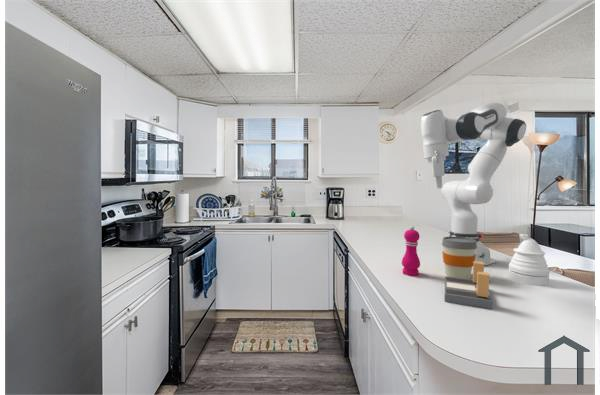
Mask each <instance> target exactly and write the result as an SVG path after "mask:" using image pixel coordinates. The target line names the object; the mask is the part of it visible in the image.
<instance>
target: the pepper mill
mask: <svg viewBox="0 0 600 395" xmlns="http://www.w3.org/2000/svg"><path fill="white" fill-rule="evenodd" d="M403 234H404V235H403V237H404V238H403V239H405V243H404V245H405V246H406V247H405V253H404V255H403V257H402V259H401V265H402V267H403V268H402V274H403V275H405V276H411V277H416V276H419V275H420V274H419V273H420V272H419V271H420V270H419V268H420V267H421V261H420V258H419V256H418V254H417V251H418V250H417V246H418V245H419V239H420V233H419V232H418V230H415V226H413V225H410V226H409V229H408V230H406V231H405V232H404V233H403Z"/></svg>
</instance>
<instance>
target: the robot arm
mask: <svg viewBox="0 0 600 395" xmlns="http://www.w3.org/2000/svg"><path fill="white" fill-rule="evenodd" d="M507 112H508V110H507V108H506V106H505V105H504V104H503V103H500V102H489V103H484V104H482V105H479V106H477V107H475V108H472V110H470V112H467V113H464V114H462V115H459V116H455V117H453V118H448V117H446V116H445V115H444V112H443V110H442V109H436V110H433V111H430V112H427V113H424V114H423V115H421V119H420V131H421V132H420V133H421V138H422V140H423V141H422V142H423V144H422V149H423V150H422V151H423V158H424V159H425V160H427V163H429V164H430V170H431V173H432V177H433V178H435V182H436V188H437V189H441V190H440V191H441V196H442V197H443V199H445V201H446V204H448V208H449V211H450V220H451V221H450V223H451V224H450V231H449V237H464V238H470V239H474V240H476V245H477V248H476V250H475V255H476V256H475V261H478V262H483V263H484V266H488V265H491V264H496V263H497V261H496V259H494V258H491V251H490V249H489V248H488V247H487V246H486V245H485V244H484V243H482V242H481V241H480V240H481V239H483V238H484V236H485V235H484V233H478V220H479V218H478V216H477V214H476V213H475V212H474V211H473V210H472V207H471V205H483V204H486V203H489V202H490V201H491V200H492V198H493V196H494V195H493V194H494V188H493V186H492V185H491V180H492V177H493V175H494V174H495V173H496V171H497V169H498V167H500V165H501V163H502V161H503V159H504V158H505V156H506V154H507V151H508V147H509V148H510V147H513V145H514V144H517V143H519V142H520V141H521V140H522V139H523V138H524V137H525V134H526V132H527V123H526V121H525V120H522V119H520V118H512V117H507V114H508V113H507ZM477 139H484V140H487V141H486V142H485V144H484V145H483V146H482V147H481V148H480V149H479V150H478V151H477V153H476V154H475V155H474V157H473V159H472V160H471V162H470V163H469V164H468V167H467V172H468V173H469V176H468V178H466V179H465V180H464V179H457V180H455V179H454V180H450V181H447V182H445V183H444V184H443V176H445V166H444V165H445V164H444V162H445V161H446V157H449V156H450V151H449V145H452V144H455V143H460V142H464V141H472V140H477Z"/></svg>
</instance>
